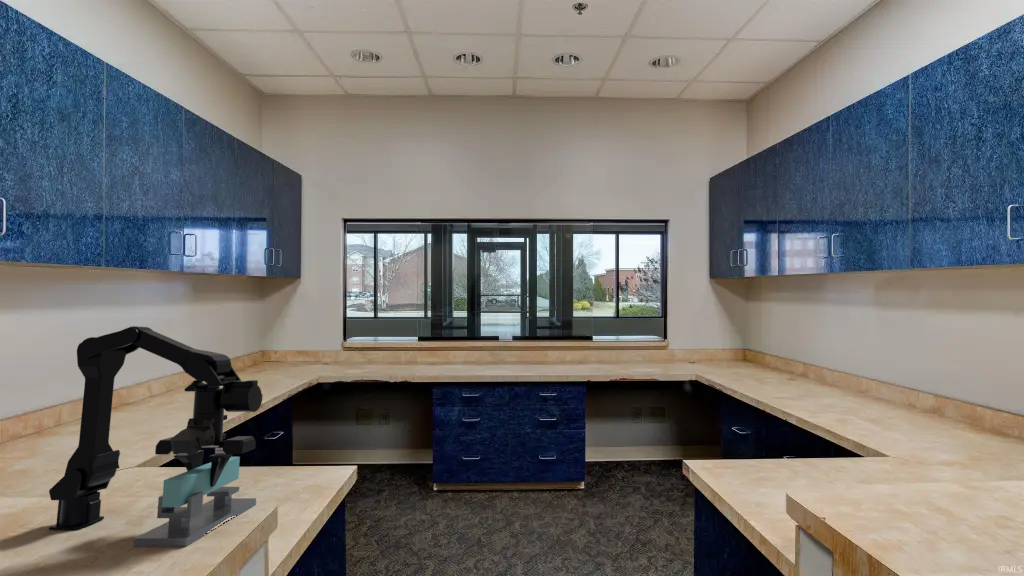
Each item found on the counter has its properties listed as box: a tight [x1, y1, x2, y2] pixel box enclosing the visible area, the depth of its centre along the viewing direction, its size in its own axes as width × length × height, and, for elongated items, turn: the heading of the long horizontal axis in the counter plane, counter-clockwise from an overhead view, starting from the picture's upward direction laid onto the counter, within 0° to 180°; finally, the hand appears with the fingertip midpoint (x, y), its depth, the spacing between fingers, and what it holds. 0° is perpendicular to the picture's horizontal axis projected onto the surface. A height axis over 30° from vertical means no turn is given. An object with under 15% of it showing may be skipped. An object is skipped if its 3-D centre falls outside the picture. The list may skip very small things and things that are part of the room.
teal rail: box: [162, 456, 241, 507], centre depth 104 cm, size 4×20×5 cm, turn 0°
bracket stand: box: [133, 486, 257, 548], centre depth 103 cm, size 10×24×8 cm, turn 179°
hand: (203, 486), depth 104 cm, fingers closed on teal rail, 3 cm apart
